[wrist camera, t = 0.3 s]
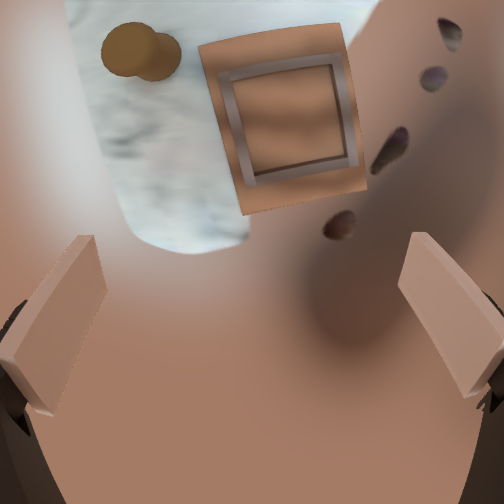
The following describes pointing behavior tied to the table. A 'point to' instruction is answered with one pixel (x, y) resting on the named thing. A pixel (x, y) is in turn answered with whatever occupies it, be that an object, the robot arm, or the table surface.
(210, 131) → the table surface
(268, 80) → the board
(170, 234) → the table surface
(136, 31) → the brown tall rounded piece
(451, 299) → the robot arm
